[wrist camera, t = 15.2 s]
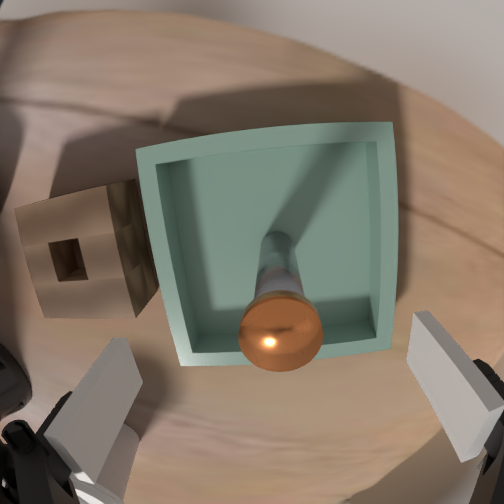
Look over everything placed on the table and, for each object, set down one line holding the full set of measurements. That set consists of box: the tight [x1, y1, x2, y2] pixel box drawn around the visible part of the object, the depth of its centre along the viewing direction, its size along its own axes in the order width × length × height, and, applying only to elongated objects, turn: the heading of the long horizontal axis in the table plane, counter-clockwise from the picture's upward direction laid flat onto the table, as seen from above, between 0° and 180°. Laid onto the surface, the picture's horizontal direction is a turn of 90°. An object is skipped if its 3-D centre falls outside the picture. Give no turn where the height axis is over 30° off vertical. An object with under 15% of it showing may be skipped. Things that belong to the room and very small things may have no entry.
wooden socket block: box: [15, 179, 157, 319], centre depth 28 cm, size 12×12×6 cm
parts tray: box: [135, 122, 398, 366], centre depth 28 cm, size 21×21×4 cm
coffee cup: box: [69, 423, 140, 504], centre depth 34 cm, size 10×10×15 cm
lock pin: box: [238, 231, 323, 372], centre depth 21 cm, size 4×4×15 cm
